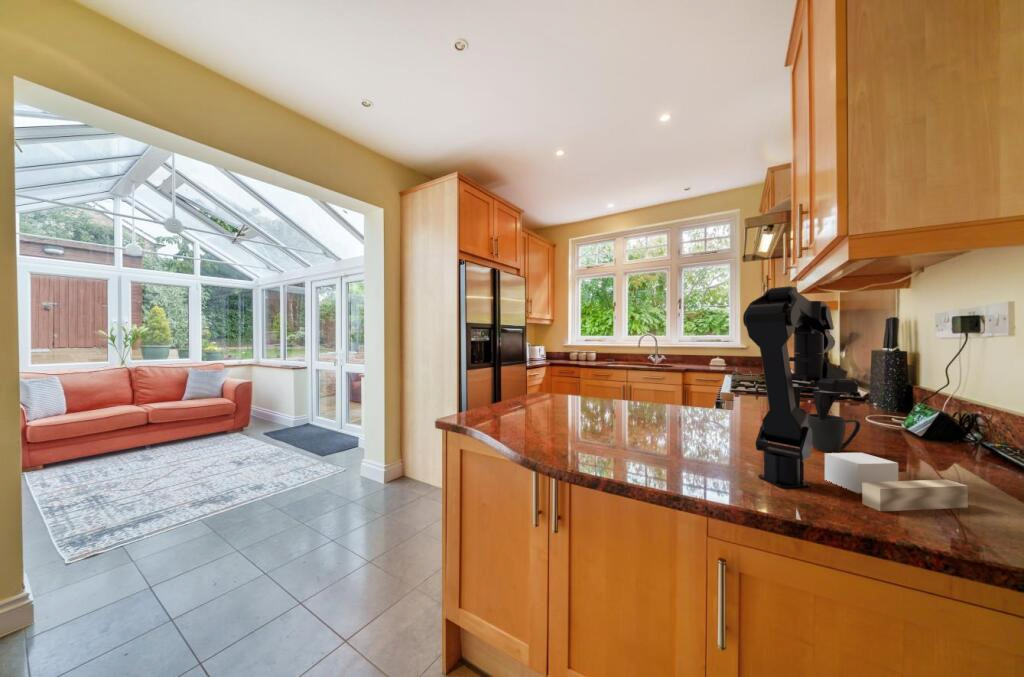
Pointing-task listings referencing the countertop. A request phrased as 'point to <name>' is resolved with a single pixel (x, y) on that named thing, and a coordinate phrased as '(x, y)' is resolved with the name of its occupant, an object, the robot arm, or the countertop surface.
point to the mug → (830, 432)
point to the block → (858, 470)
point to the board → (914, 495)
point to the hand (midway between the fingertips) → (808, 417)
